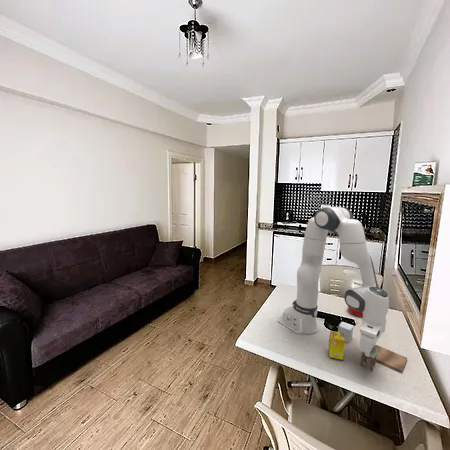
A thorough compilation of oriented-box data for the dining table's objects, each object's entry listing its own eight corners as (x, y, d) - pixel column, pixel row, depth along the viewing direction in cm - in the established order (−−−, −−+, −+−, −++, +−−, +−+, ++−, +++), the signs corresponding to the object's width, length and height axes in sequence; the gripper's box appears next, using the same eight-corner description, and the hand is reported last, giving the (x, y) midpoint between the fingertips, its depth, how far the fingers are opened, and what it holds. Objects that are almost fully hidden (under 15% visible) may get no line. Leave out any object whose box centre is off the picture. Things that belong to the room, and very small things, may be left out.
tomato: (351, 317, 155) (353, 301, 153) (344, 307, 167) (346, 292, 165) (370, 319, 153) (372, 303, 152) (362, 309, 165) (364, 294, 164)
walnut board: (366, 357, 119) (367, 355, 119) (373, 346, 128) (374, 343, 128) (401, 373, 110) (402, 371, 110) (407, 360, 118) (407, 357, 118)
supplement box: (327, 350, 124) (330, 330, 122) (341, 353, 122) (343, 332, 120) (329, 358, 118) (331, 337, 116) (343, 361, 116) (345, 340, 114)
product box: (349, 343, 130) (350, 330, 129) (336, 338, 134) (338, 325, 132) (352, 337, 134) (353, 325, 133) (340, 333, 138) (341, 321, 137)
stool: (359, 365, 114) (362, 348, 112) (363, 360, 117) (365, 343, 116) (372, 371, 110) (374, 353, 109) (375, 366, 114) (378, 348, 112)
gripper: (372, 312, 120) (368, 339, 122) (358, 330, 105) (354, 359, 108) (387, 318, 115) (383, 345, 118) (375, 336, 101) (370, 367, 103)
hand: (369, 352), depth 113 cm, fingers closed on stool, 5 cm apart
